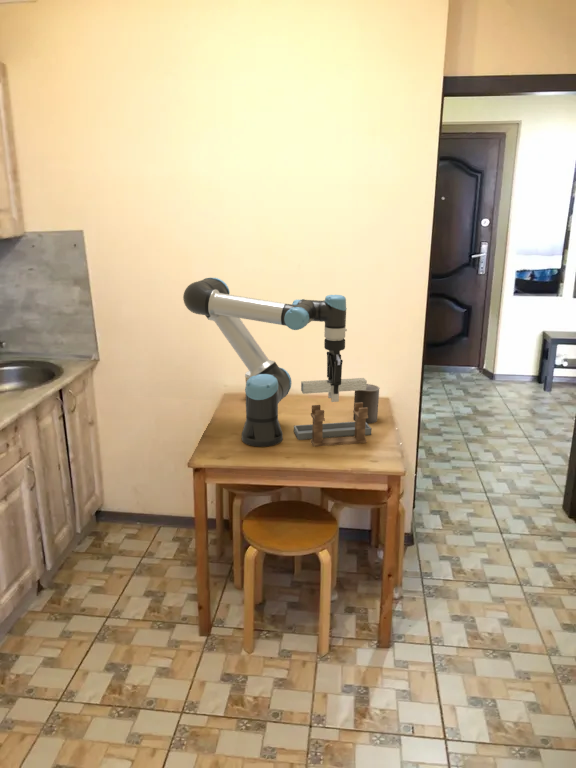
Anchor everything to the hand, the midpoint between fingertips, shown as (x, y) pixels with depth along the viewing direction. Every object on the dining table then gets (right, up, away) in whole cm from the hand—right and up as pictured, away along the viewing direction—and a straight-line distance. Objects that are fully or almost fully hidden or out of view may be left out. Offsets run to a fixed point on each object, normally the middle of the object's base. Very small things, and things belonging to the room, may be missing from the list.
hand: (333, 399), depth 229 cm
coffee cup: (-31, -1, +42) cm, 53 cm away
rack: (+1, -16, -4) cm, 16 cm away
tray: (0, -13, +4) cm, 14 cm away
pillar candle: (+14, -9, +18) cm, 25 cm away
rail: (0, +3, -1) cm, 4 cm away
